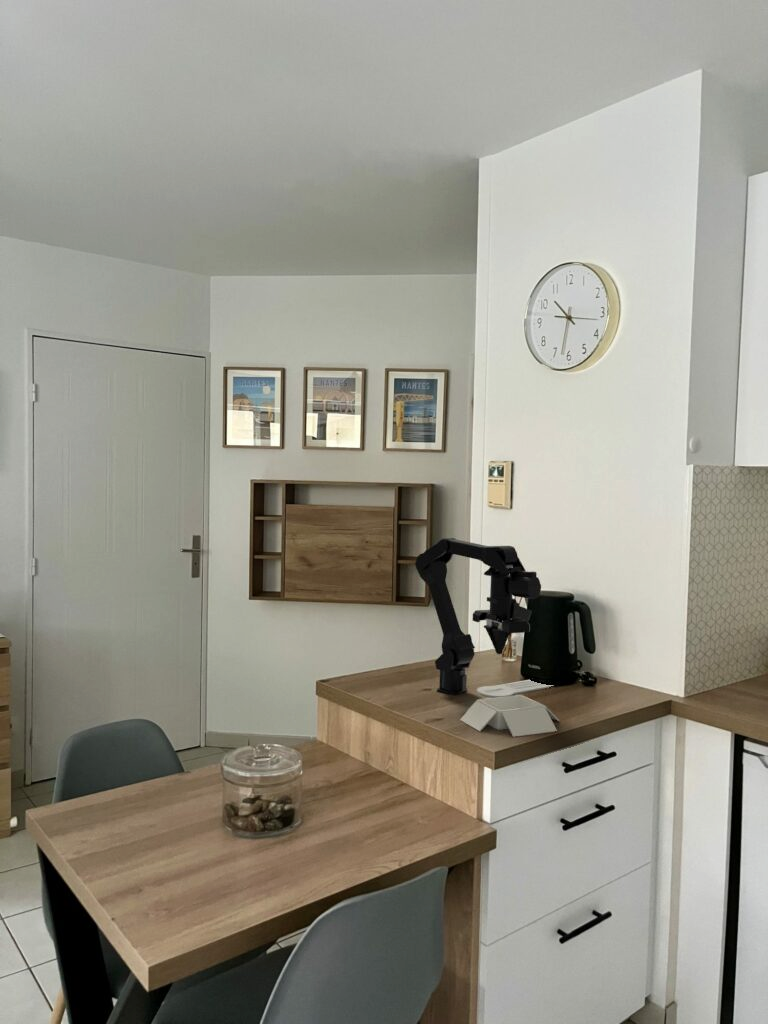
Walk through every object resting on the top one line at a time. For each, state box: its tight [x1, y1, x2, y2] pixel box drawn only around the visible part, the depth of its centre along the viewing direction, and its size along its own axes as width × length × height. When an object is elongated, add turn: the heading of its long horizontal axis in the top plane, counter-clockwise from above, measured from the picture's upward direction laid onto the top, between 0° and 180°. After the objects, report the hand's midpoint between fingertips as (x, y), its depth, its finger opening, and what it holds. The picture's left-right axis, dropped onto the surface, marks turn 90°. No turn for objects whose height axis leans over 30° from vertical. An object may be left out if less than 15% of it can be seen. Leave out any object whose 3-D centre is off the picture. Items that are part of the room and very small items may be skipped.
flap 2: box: [530, 698, 560, 722], centre depth 191 cm, size 9×6×1 cm
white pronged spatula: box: [476, 679, 554, 698], centre depth 219 cm, size 28×1×10 cm
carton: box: [476, 694, 547, 731], centre depth 188 cm, size 10×13×4 cm
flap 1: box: [460, 700, 497, 732], centre depth 184 cm, size 9×6×1 cm
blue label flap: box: [502, 707, 558, 738], centre depth 181 cm, size 6×12×1 cm
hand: (499, 654), depth 202 cm, fingers closed
